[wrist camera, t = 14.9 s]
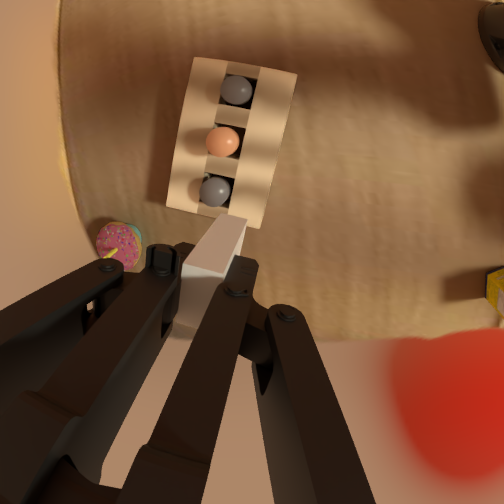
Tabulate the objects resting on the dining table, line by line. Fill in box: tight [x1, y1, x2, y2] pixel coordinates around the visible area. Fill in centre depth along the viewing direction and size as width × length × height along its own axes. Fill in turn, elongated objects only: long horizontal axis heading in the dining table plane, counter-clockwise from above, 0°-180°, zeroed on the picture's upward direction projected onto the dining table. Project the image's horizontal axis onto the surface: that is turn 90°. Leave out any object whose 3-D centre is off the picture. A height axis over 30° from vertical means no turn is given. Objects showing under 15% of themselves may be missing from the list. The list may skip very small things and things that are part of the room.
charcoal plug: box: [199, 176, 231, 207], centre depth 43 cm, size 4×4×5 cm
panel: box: [166, 57, 297, 229], centre depth 42 cm, size 22×14×5 cm, turn 167°
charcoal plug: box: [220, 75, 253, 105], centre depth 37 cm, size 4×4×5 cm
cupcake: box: [96, 222, 142, 271], centre depth 47 cm, size 9×8×12 cm
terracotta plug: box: [206, 127, 239, 157], centre depth 39 cm, size 4×4×5 cm
